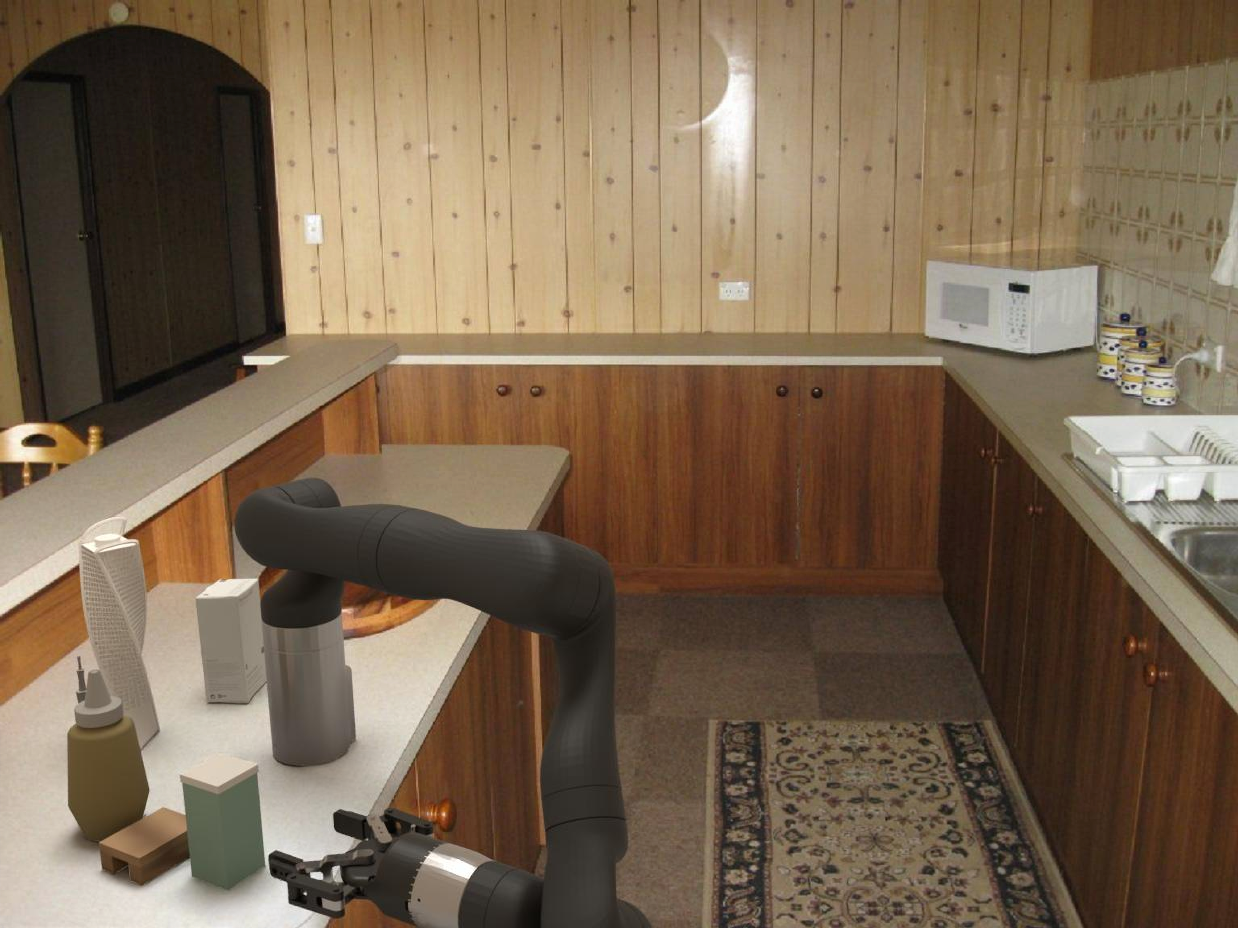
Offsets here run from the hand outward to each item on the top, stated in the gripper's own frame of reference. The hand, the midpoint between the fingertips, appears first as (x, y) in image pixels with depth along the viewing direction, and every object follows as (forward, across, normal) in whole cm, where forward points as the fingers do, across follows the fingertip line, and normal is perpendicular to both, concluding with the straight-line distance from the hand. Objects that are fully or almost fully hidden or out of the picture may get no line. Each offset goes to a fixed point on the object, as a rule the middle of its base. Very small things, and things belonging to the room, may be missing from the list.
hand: (304, 839), depth 118 cm
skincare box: (+43, -32, +7) cm, 54 cm away
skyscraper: (+44, -15, +7) cm, 47 cm away
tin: (+11, 0, +6) cm, 13 cm away
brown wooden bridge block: (+19, +2, +6) cm, 20 cm away
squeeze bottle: (+28, 0, +7) cm, 29 cm away
